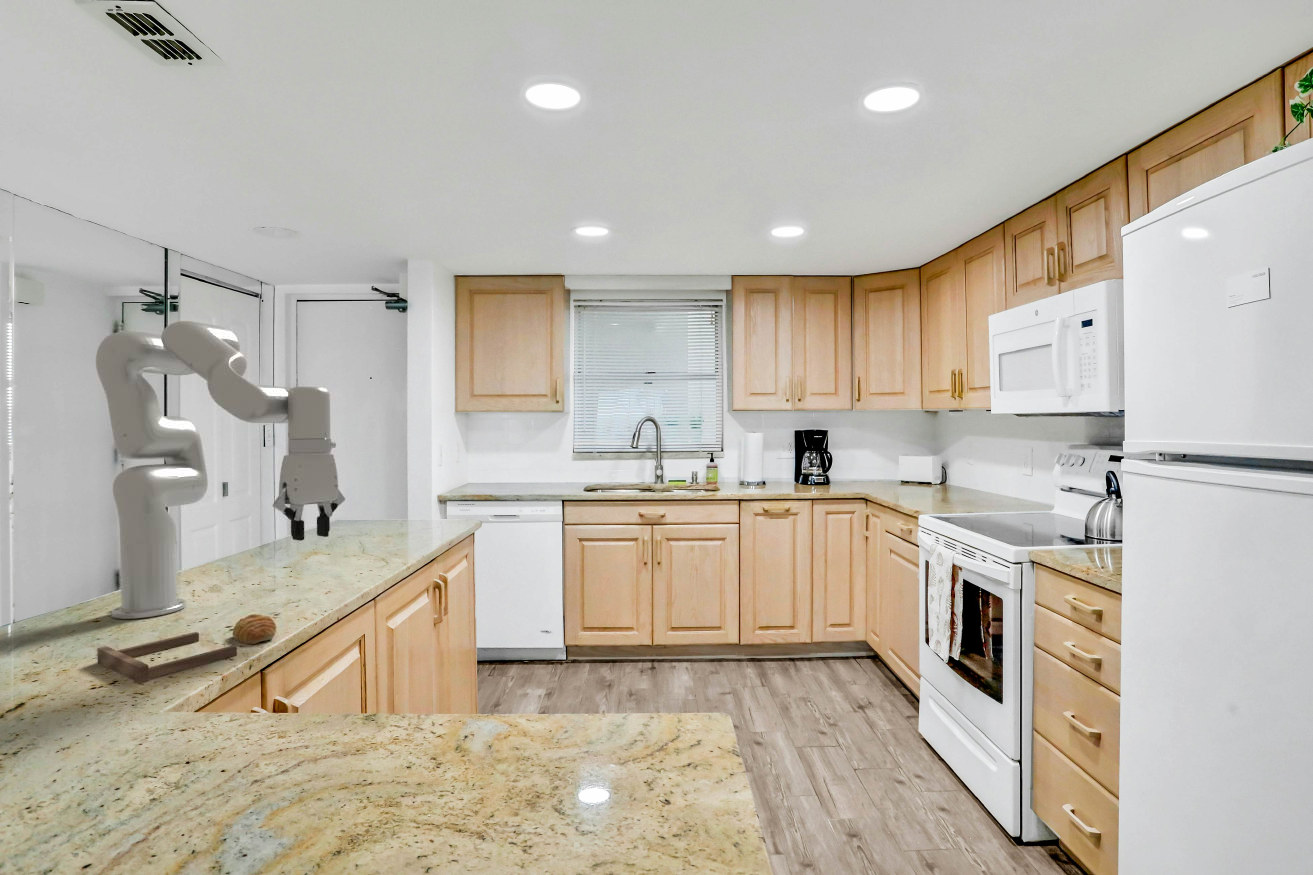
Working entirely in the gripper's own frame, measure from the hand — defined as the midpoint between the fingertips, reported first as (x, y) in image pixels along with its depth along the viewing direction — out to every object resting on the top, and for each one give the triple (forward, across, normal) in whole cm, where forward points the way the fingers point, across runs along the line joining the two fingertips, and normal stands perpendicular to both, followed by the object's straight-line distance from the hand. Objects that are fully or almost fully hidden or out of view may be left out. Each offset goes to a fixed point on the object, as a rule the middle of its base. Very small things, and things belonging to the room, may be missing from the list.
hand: (310, 537), depth 130 cm
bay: (+17, +24, 0) cm, 30 cm away
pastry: (+18, +10, 0) cm, 21 cm away
